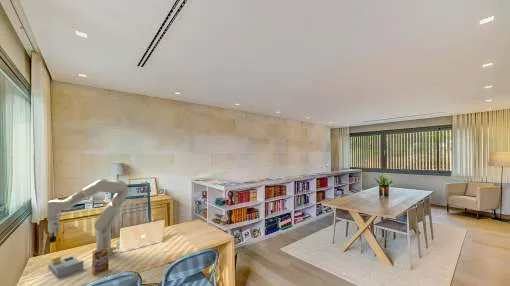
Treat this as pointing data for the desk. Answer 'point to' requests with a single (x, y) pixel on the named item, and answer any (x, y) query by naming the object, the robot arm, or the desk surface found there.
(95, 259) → the candy box
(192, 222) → the desk surface
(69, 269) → the board
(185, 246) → the desk surface
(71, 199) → the robot arm
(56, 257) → the block
